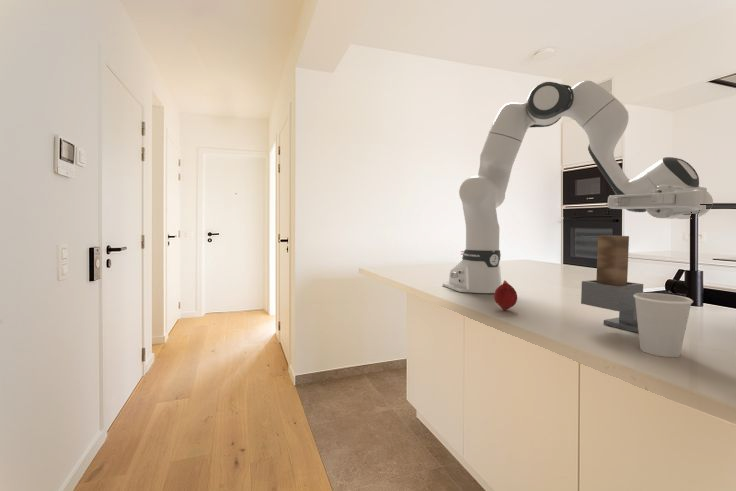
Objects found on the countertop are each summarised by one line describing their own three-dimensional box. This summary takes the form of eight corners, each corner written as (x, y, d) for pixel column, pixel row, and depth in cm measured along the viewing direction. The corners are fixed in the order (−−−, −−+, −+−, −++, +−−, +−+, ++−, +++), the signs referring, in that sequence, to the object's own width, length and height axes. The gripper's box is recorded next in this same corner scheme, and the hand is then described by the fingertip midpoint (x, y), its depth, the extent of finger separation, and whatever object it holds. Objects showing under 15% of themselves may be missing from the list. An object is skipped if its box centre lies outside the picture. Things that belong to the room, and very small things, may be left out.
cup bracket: (580, 328, 82) (581, 281, 81) (619, 321, 87) (621, 277, 87) (617, 338, 74) (619, 286, 74) (657, 330, 80) (660, 282, 80)
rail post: (595, 300, 80) (598, 235, 80) (607, 298, 82) (609, 235, 81) (614, 303, 77) (617, 236, 76) (626, 301, 78) (629, 236, 78)
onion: (520, 310, 99) (520, 280, 99) (512, 313, 95) (512, 283, 94) (498, 306, 103) (499, 278, 102) (490, 310, 99) (490, 280, 98)
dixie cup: (667, 344, 70) (670, 292, 70) (703, 360, 62) (706, 302, 62) (621, 343, 71) (623, 292, 71) (650, 359, 63) (653, 301, 62)
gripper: (625, 192, 107) (594, 189, 101) (715, 186, 88) (682, 183, 83) (624, 214, 107) (593, 212, 102) (712, 213, 89) (680, 211, 83)
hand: (633, 199), depth 92 cm, fingers open, 8 cm apart
